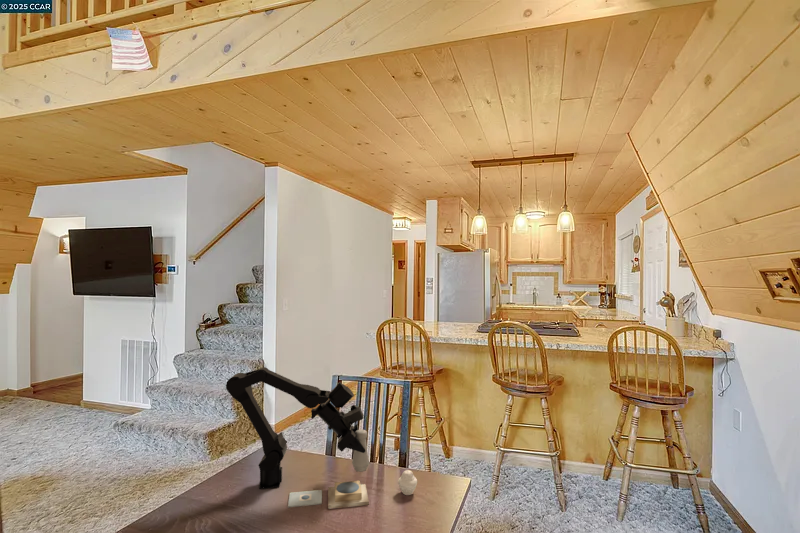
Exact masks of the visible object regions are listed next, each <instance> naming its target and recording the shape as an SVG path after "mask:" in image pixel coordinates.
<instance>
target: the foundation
mask: <svg viewBox="0 0 800 533" xmlns="http://www.w3.org/2000/svg"><path fill="white" fill-rule="evenodd" d="M327 490H328V492H327V496H328V503H327V504H328V509H329V510H330V509H331V510H332V509H341V508H350V507H360V506H369V504H370V501H369V495H368V491H367V485H366V483H364V484H363V483H362V484H361V482H360V480H352V481H351V480H350V481H340V482H334V486H329V487H328V488H327Z"/></svg>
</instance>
